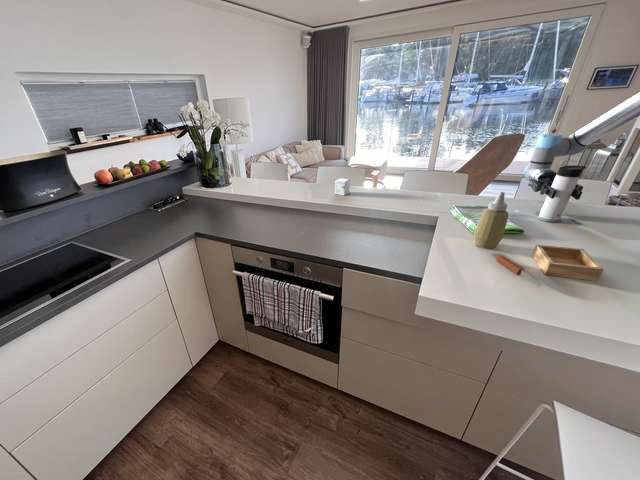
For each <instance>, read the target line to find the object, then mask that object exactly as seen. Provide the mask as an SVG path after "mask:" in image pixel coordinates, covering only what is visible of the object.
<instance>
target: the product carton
mask: <svg viewBox="0 0 640 480" xmlns="http://www.w3.org/2000/svg"><path fill="white" fill-rule="evenodd" d="M350 188H351V179H349V178H343V177H342V178H340V177H339V178H338V179H336V180H335V181H334V194H335V195H338V196H339V195H340V196H346V195H347V194H349V193H350V190H351V189H350Z"/></svg>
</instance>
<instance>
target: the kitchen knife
mask: <svg viewBox="0 0 640 480" xmlns="http://www.w3.org/2000/svg"><path fill="white" fill-rule="evenodd" d="M495 260H496V262H497V263H499V264H500V263H501V264H500V265H502V266H503V267H506V268H507V269H509V270H510V271H512V272H514V274H516V275H517V276H522V277H524V278H525V279H526V280H528V281H530V282H531V283H533V284H535V285H536V286H538V287H540V288H542V284H541V283H540V281H538V280H537V279H535V278H534V277H533V276H532V275H530V274H529V273H527V272H526V271H524V269H523V268H522V267H520V266H519V265H518V264H516V263H514V262H513V261H511V260H509V259H508V258H506V257H505V256H503V255H497V256H495Z"/></svg>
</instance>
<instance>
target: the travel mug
mask: <svg viewBox="0 0 640 480" xmlns="http://www.w3.org/2000/svg"><path fill="white" fill-rule="evenodd" d="M585 169H586V165H563V166H560V167H559V168H558V170H557V172H556V173H557V174H556V177H555V179H554V181H553V184H552V186H551V187H552V188H553V189H555V190H556V191H557V192H556V194H555V197H554V199H551V198H550V197H549V196H547V195H546V198H545V200H544V203H543V205H542V207H541V209H540V212H539V214H538V217H537V218H538V220H540V221H542V222H547V223H558V222H560V220H561V218H562V216H563V214H564V212H565V210H566V207H567V205H568V203H569V201H570V199H571V197H572V196H571V195H572V193H573V191H574V188H575V186H576V184H578V182H579V180H580V178H581V175H582V174H583V171H584V170H585Z"/></svg>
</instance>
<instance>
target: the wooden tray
mask: <svg viewBox="0 0 640 480" xmlns="http://www.w3.org/2000/svg"><path fill="white" fill-rule="evenodd" d="M531 256H532V258H533V260H535V262H536V264H537V265H538V267H539V268H540V271H542V273H543V274H544V275H545V276H552V277H560V278H561V277H562V278H568V279H569V278H570V279H575V280H576V279H577V280H585V281H594V282H597V281H598V280H599V279H600V277H601V275H602V273H603V272H604V270H605V269H604V268H603V267H602V266H601V265H600V264H599V263H598V262H597V261H596V260H595V259H594V258H593V257H592V256H591V254H589V253H588V252H587V251H586V250H585V249H584V248H576V247H566V246H555V245H544V244H535V246H534V248H533V250H532V253H531Z"/></svg>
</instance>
